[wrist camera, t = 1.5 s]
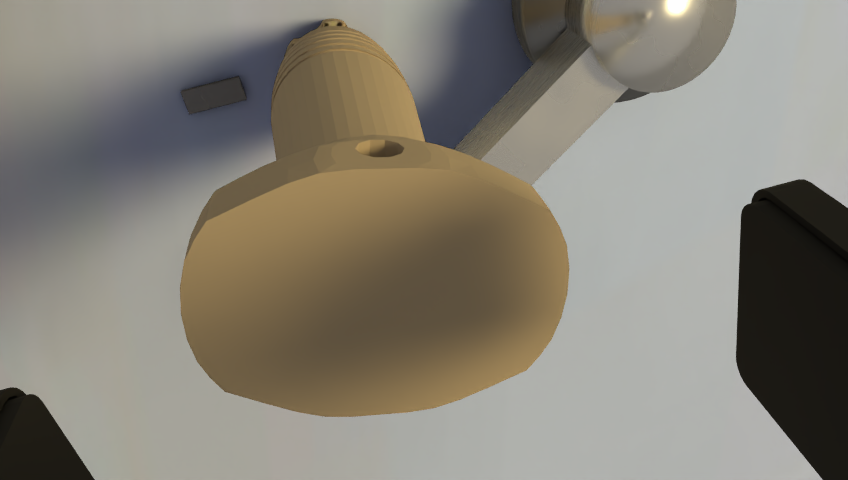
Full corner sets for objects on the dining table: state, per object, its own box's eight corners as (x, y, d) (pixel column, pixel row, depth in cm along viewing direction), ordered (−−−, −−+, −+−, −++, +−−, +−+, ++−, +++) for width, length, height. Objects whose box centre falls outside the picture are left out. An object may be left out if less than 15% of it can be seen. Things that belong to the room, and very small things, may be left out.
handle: (231, -11, 23) (161, 173, 10) (427, -8, 24) (588, 164, 11) (242, 131, 25) (196, 429, 12) (421, 128, 26) (549, 401, 14)
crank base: (703, 64, 27) (724, 75, 26) (221, 190, 26) (217, 208, 25) (701, -141, 24) (725, -139, 22) (144, -2, 23) (136, 7, 22)
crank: (638, -101, 22) (719, -89, 18) (715, -4, 24) (804, 28, 20) (356, 205, 26) (369, 275, 22) (443, 269, 28) (471, 345, 23)
